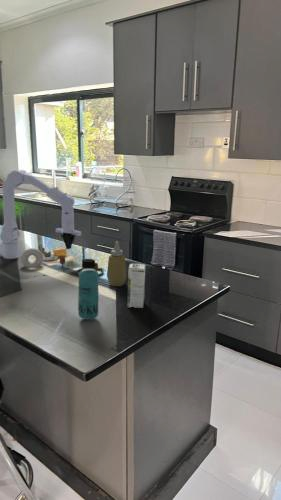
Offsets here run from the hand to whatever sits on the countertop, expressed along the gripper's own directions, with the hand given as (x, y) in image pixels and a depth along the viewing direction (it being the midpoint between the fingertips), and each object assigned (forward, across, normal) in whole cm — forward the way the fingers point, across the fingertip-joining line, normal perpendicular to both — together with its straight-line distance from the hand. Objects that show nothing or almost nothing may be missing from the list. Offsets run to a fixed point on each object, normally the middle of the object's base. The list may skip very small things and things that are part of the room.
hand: (68, 248), depth 184 cm
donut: (+7, -5, -20) cm, 21 cm away
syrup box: (+7, +56, -29) cm, 64 cm away
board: (+6, -6, -4) cm, 10 cm away
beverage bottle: (+7, +50, -48) cm, 70 cm away
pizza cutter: (+5, -7, -4) cm, 10 cm away
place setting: (+8, +16, -8) cm, 20 cm away
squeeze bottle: (+7, +38, -15) cm, 42 cm away
